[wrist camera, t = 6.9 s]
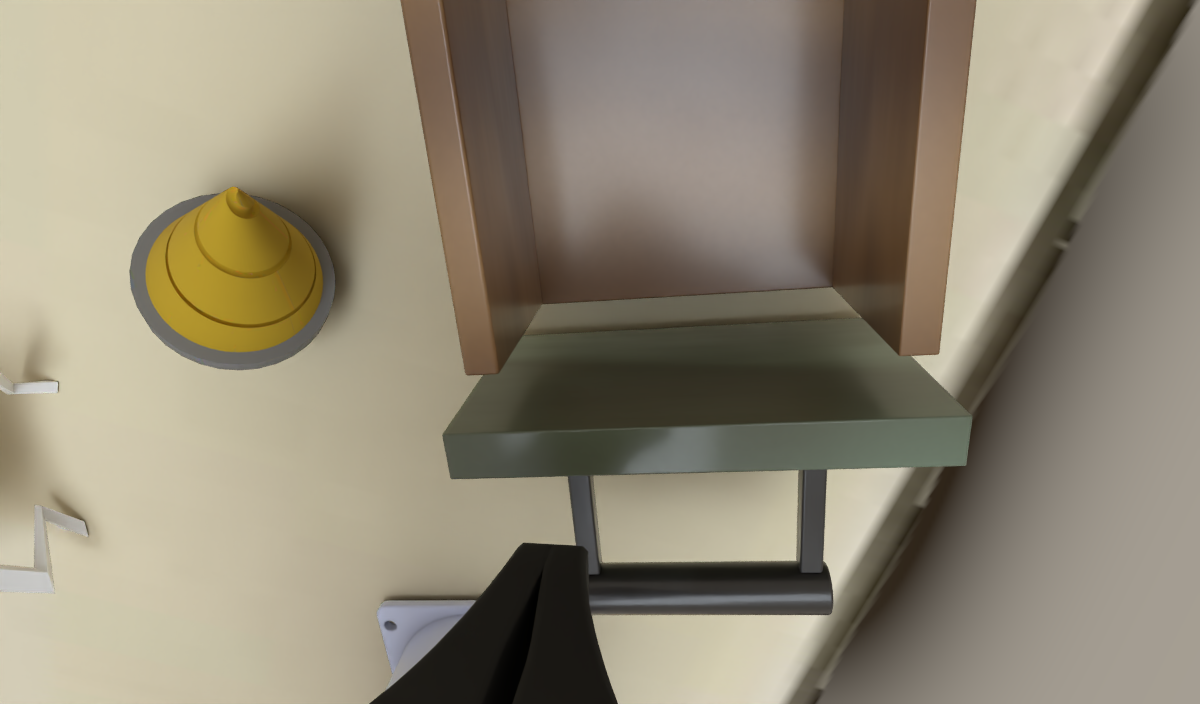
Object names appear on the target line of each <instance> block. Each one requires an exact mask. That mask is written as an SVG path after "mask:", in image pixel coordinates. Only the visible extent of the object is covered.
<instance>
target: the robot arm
mask: <svg viewBox="0 0 1200 704" xmlns="http://www.w3.org/2000/svg"><path fill="white" fill-rule="evenodd" d="M377 618H378V622H379V625H380V629H381V633H382V637H383V641H384V644H385V648H386V652H387V656H388V660H389V663H390V667H391V671H392V677H391V679H390V681H389V683H388V685H387V687H386V690H385V691H384V692H383V693H382V694H381V695H379V696H378V697H377V698H376V699H374V700H373V701H372V702H371V703H370V704H618V703H617V700H616V697H615V694H614V692H613V689H612V686H611V684H610V681H609V678H608V675H607V672H606V669H605V665H604V662H603V659H602V655H601V652H600V648H599V645H598V641H597V637H596V633H595V629H594V624H593V619H592V615H591V610H590V605H589V563H588V551H587V550H586V549H585V548H584V547H583V546H572V545H554V544H535V543H523V544H521V545H520V546H519V547H518V548H517V550H516V551H515V552H514V554H513V555H512V556H511V558H510V559H509V561H508V562H507V563H506V565H505V566H504V567H503V569H502V570H501V571H500V572H499V574H498V575H497V576H496V577H495V579H494V580H493V581H492V583H491V584H490V585H489V586H488V588H487V589H486V590H485V591H484V592H483V593H482V595H481V596H480V597H479V598H478V599H477V600H388V601H384V602H383V603H381V605H380V607H379V608H378V610H377ZM390 621H393V622H394V623H395V624H394V623H391V622H390Z"/></svg>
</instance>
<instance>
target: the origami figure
mask: <svg viewBox="0 0 1200 704" xmlns="http://www.w3.org/2000/svg"><path fill="white" fill-rule="evenodd" d="M0 390H2V391H3V392H5V393H6V394H31V393H58V382H56V381H50V380H46V381H35V382H24V383H12V382H11V381H10V380H9V379H8V378H7V377H6V376H5V375H4V374H3V373H2V372H1V371H0ZM46 521H47V522H50V523H52V524H55V525H57V526H60V527H62V528H65V529H67V530H70V531H72V532H75V533H78V534H80V535H84V536H87V537H88V533H87V530H86V526H85V522H84V521H82V520H79V519H76V518H73V517H71V516H68V515H65V514H63V513H60V512H57V511H54V510H52V509H49V508H46V507H44V506H40V505H35V517H34V568H31V567H20V566H9V565H0V591H2V592H27V593H55V588H54V581H53V573H52V566H51V558H50V551H49V543H48V536H47V528H46Z"/></svg>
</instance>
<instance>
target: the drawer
mask: <svg viewBox="0 0 1200 704" xmlns="http://www.w3.org/2000/svg"><path fill="white" fill-rule="evenodd" d="M401 6H402V12H403V18H404V23H405V29H406V35H407V41H408V46H409V52H410V58H411V64H412V69H413V75H414V81H415V87H416V93H417V98H418V104H419V110H420V116H421V121H422V127H423V133H424V139H425V144H426V150H427V156H428V162H429V167H430V173H431V179H432V185H433V191H434V196H435V202H436V208H437V214H438V219H439V225H440V231H441V237H442V242H443V248H444V254H445V260H446V266H447V271H448V277H449V283H450V289H451V294H452V300H453V306H454V312H455V317H456V323H457V329H458V335H459V340H460V346H461V352H462V358H463V364H464V369H465V373H466V375H483V376H482V377H481V379H480V380H479V382H478V383H477V385H476V386H475V388H474V389H473V390H472V392H471V393H470V395H469V396H468V398H467V399H466V401H465V402H464V404H463V405H462V407H461V408H460V410H459V411H458V412H457V414H456V415H455V417H454V418H453V420H452V421H451V423H450V424H449V426H448V427H447V429H446V430H445V431H444V433H443V435H442V436H443V441H444V446H445V451H446V457H447V462H448V467H449V472H450V477H451V479H479V478H517V477H555V476H568V483H569V491H570V499H571V508H572V516H573V524H574V533H575V541H576V546H583V547H584V548H585V549H586V550H587V551H588V563H589V605H590V610H591V615H829V614H831V613H832V609H833V590H832V582H831V577H830V573H829V570H828V567H827V565H826V563H825V562H824V561H823V551H824V527H825V504H826V481H827V469H860V468H898V467H936V466H965V465H966V460H967V454H968V446H969V438H970V430H971V423H972V415H971V414H969V413H968V412H967V411H966V410H965V409H964V408H963V407H962V406H961V405H960V404H959V403H958V402H957V401H956V400H955V399H954V398H953V397H952V396H951V395H950V394H949V393H948V392H947V391H946V390H945V389H944V388H943V387H942V386H941V385H940V384H939V383H938V382H937V381H936V380H935V379H934V378H933V377H932V376H931V375H930V374H929V373H928V372H927V371H926V370H925V369H924V368H923V367H922V366H921V365H920V364H919V363H918V362H917V361H916V360H915V359H914V358H913V357H912V356H916V355H937V354H939V350H940V341H941V331H942V322H943V312H944V303H945V293H946V284H947V274H948V265H949V256H950V246H951V237H952V227H953V218H954V208H955V199H956V189H957V180H958V170H959V161H960V151H961V142H962V132H963V123H964V113H965V104H966V94H967V85H968V75H969V66H970V56H971V47H972V37H973V28H974V19H975V9H976V0H401ZM828 287H833V288H834V289H835V290H836V291H837V292H838V293H839V294H840V295H841V296H842V297H843V298H844V300H845V301H846V302H847V303H848V304H849V305H850V306H851V307H852V308H853V309H854V310H855V311H856V312H857V313H858V314H859V315H860V316H861V317H862V318H848V319H829V320H810V321H791V322H772V323H754V324H735V325H716V326H697V327H678V328H659V329H640V330H621V331H602V332H583V333H564V334H546V335H527V336H523V334H524V333H525V331H526V329H527V328H528V326H529V325H530V323H531V321H532V320H533V318H534V317H535V315H536V313H537V312H538V310H539V309H540V307H541V305H542V304H555V303H572V302H589V301H606V300H624V299H641V298H658V297H675V296H692V295H709V294H726V293H743V292H760V291H777V290H794V289H811V288H828ZM783 470H799V473H798V513H797V553H796V560H797V561H734V562H634V563H602V557H601V548H600V538H599V528H598V519H597V509H596V500H595V490H594V480H593V475H631V474H669V473H707V472H745V471H783Z"/></svg>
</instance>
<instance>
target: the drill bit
mask: <svg viewBox="0 0 1200 704" xmlns="http://www.w3.org/2000/svg"><path fill="white" fill-rule="evenodd" d="M130 282H131V291H132V293H133V296H134V299H135V302H136V305H137V308H138V309H139V311H140V313H141V314H142V316H143V317H144V319H145V321H146V322H147V324H148V325H149V327H150V329H151V330H152V332H153V333H154V334H155V335H156V336H157V337H158V338H159V339H160V340H161V341H162V342H163V343H164V344H165V345H167V346H168V347H169V348H171V349H172V350H174V351H175V352H177V353H178V354H180V355H181V356H183V357H185V358H188V359H190V360H192V361H194V362H197V363H199V364H202V365H206V366H210V367H214V368H218V369H229V370H248V369H258V368H262V367H266V366H270V365H273V364H277V363H279V362H281V361H283V360H285V359H288V358H290V357H292V356H294V355H295V354H296V353H298V352H299V351H300V350H302V349H303V348H305V347H306V346H307V345H308V344H309V343H310V342H311V341H312V340H313V339H314V338H315V337H316V335H317V334H318V333H319V331H320V330H321V328H322V326H323V325H324V323H325V321H326V319H327V317H328V314H329V312H330V308H331V305H332V302H333V299H334V292H335V275H334V267H333V264H332V261H331V258H330V255H329V253H328V250H327V249H326V247H325V245H324V244H323V242H322V240H321V239H320V237H319V236H318V235H317V234H316V232H315V231H314V230H313V229H312V228H311V227H310V226H309V225H308V224H307V223H306V222H305V221H304V220H302V219H301V218H300V217H298V216H297V215H296V214H295V213H293V212H291V211H290V210H288V209H286V208H284V207H282V206H280V205H279V204H277V203H274V202H271V201H268V200H265V199H263V198H260V197H255V196H249V195H247V194H246V193H244V192H243V191H241V190H240V189H238V188H237V187H231V188H229V189H227V190H225V191H224V192H222V193H218V194H211V195H204V196H199V197H196V198H193V199H189V200H186V201H183V202H181V203H179V204H177V205H175V206H173V207H172V208H170V209H168V210H166V211H164V212H163V213H162V214H161V215H160V216H158V217H157V218H156V219H155V220H154V221H153V222H151V223H150V225H149V226H148V227H147V229H146V230H145V231H144V232H143V234H142V235H141V236H140V238H139V240H138V242H137V245H136V247H135V249H134V251H133V254H132V260H131V266H130Z"/></svg>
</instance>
